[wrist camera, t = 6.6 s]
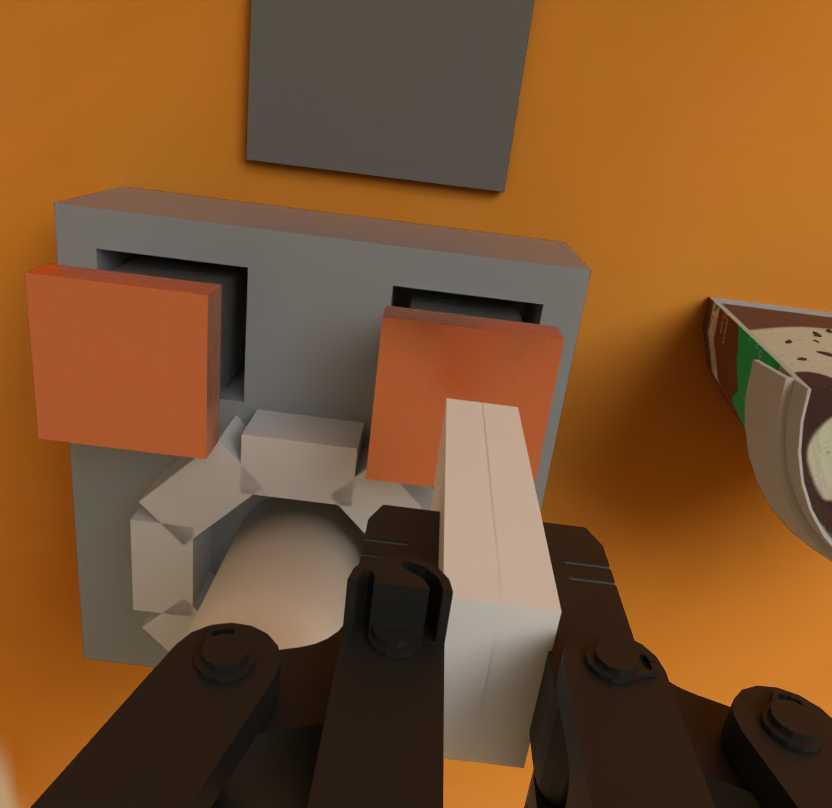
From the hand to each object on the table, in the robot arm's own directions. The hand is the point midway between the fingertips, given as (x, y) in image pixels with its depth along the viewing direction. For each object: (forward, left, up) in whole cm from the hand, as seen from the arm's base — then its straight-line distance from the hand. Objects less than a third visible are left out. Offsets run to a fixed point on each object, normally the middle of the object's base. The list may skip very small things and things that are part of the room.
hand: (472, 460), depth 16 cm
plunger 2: (0, 0, -10) cm, 10 cm away
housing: (+5, -5, -13) cm, 14 cm away
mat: (-9, -4, -13) cm, 16 cm away
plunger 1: (0, -9, -10) cm, 14 cm away
